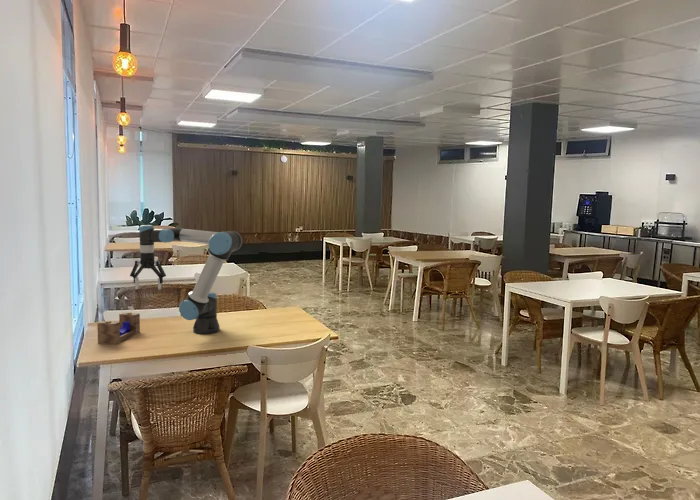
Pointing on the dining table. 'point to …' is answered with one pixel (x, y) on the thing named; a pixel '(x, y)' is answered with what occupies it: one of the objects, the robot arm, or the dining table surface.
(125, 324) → the cable clip
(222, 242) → the robot arm
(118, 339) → the wooden crate
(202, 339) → the dining table surface
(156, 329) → the dining table surface
